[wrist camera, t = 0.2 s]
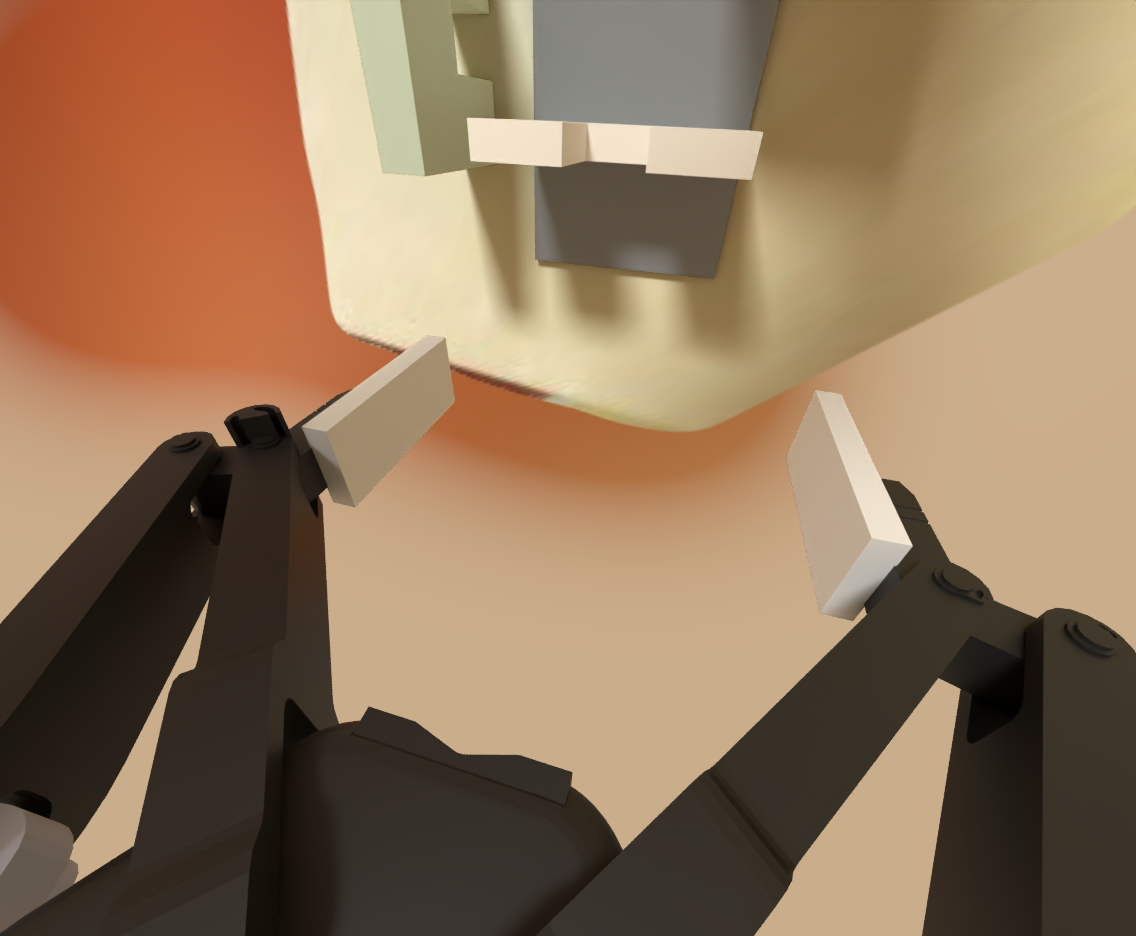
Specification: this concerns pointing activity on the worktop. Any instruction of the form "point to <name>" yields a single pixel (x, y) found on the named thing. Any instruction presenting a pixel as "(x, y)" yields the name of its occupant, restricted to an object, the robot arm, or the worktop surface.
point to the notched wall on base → (637, 128)
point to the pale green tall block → (419, 84)
